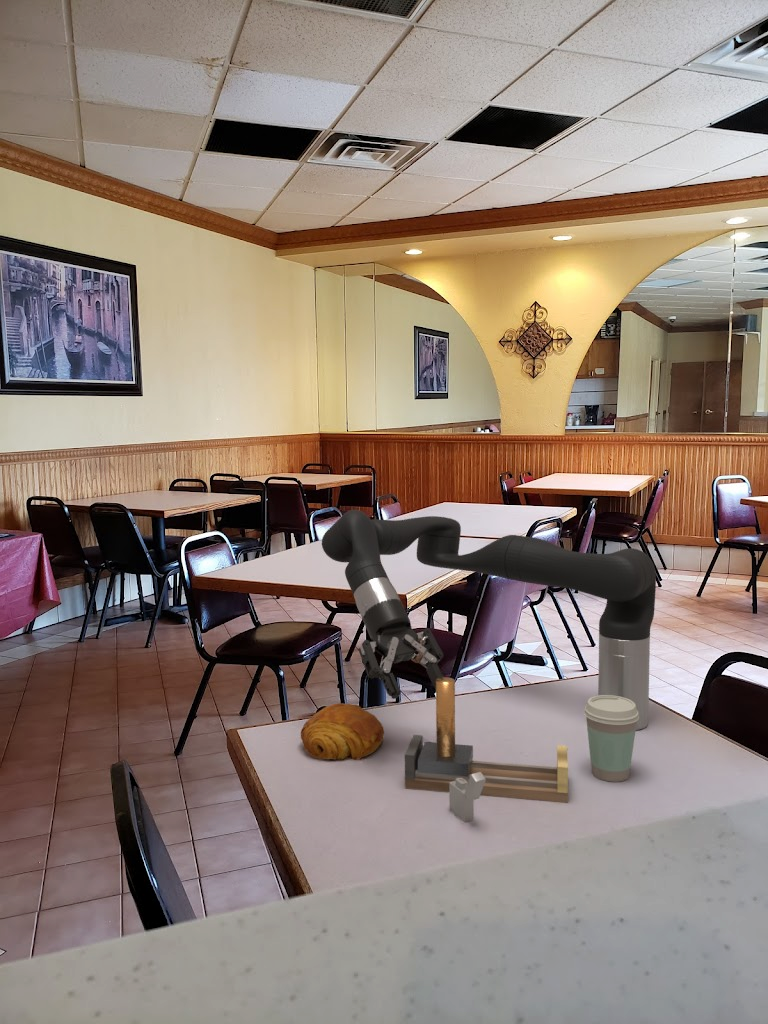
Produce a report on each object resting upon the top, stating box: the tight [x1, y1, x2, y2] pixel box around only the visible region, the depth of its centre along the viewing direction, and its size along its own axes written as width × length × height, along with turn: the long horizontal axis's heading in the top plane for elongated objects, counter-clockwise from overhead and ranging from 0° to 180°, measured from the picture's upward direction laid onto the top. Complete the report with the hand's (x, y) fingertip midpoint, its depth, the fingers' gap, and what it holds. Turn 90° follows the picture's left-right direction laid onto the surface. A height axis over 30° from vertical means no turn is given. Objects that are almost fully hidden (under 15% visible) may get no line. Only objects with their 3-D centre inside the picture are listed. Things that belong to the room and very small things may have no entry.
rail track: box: [404, 734, 569, 804], centre depth 119 cm, size 8×25×6 cm, turn 78°
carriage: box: [418, 676, 474, 776], centre depth 120 cm, size 7×8×14 cm
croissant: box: [300, 702, 385, 761], centre depth 135 cm, size 14×16×8 cm
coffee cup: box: [583, 695, 639, 783], centre depth 122 cm, size 8×8×12 cm
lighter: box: [449, 772, 486, 823], centre depth 108 cm, size 7×2×8 cm, turn 27°
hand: (418, 691), depth 124 cm, fingers open, 8 cm apart
